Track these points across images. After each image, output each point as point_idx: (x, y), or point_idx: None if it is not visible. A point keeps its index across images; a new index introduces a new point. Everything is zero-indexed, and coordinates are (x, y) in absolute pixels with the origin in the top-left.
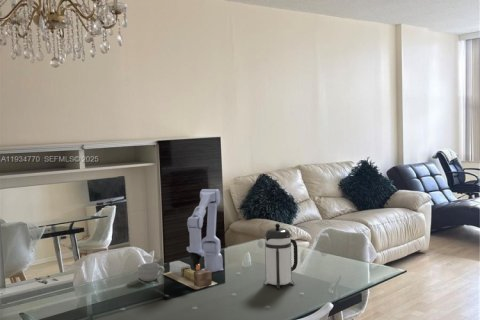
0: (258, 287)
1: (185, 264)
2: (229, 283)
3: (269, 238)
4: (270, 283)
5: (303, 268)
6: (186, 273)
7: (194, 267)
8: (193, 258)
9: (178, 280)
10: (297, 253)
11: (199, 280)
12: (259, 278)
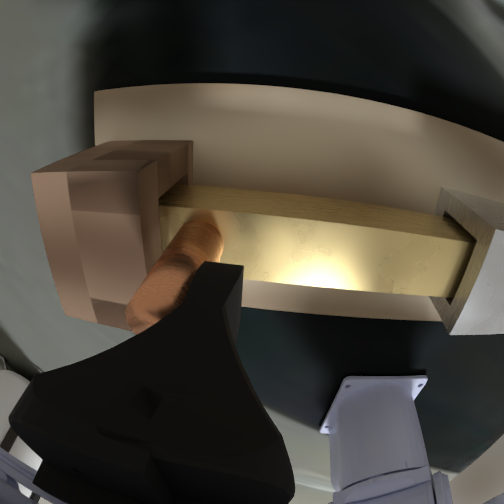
0: (25, 347)
1: (500, 317)
2: (107, 331)
3: None
4: (12, 372)
5: None
6: (406, 220)
7: (221, 264)
8: (104, 358)
9: (416, 125)
10: None
11: (72, 156)
12: None
